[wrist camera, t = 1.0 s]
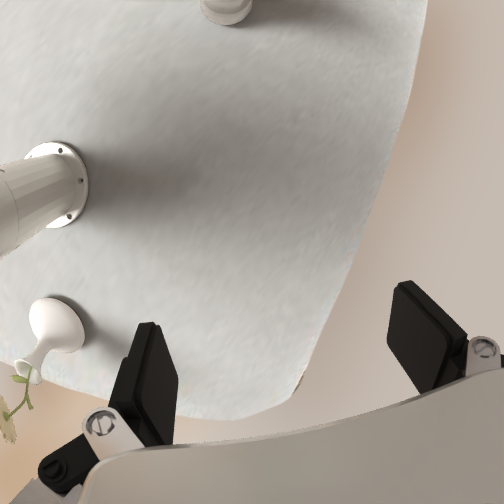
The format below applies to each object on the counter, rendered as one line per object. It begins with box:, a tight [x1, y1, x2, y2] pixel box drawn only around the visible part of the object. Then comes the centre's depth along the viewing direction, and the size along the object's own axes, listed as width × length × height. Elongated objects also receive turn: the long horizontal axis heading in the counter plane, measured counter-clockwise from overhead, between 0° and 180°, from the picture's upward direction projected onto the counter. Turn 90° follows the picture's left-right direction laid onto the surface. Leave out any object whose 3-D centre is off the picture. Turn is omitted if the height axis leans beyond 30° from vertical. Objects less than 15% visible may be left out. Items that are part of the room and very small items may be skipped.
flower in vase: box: [0, 298, 85, 444], centre depth 34 cm, size 13×11×25 cm
